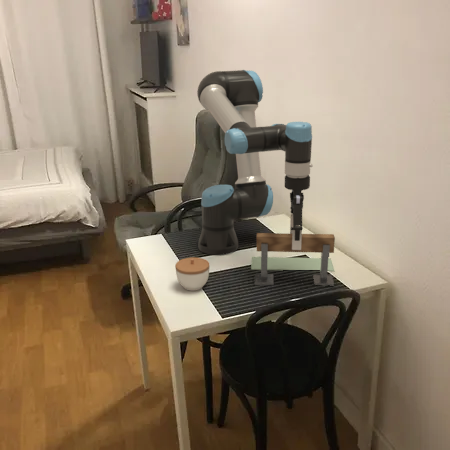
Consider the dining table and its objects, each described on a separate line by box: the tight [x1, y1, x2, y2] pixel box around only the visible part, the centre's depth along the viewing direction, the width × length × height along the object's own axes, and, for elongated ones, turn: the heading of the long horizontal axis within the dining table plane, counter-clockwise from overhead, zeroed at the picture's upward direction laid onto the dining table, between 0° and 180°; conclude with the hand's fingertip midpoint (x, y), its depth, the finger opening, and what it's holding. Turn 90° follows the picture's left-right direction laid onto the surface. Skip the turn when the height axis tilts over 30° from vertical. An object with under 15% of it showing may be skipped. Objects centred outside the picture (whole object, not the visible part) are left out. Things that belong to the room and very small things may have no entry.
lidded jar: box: [174, 256, 210, 292], centre depth 156 cm, size 11×11×9 cm
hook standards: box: [254, 243, 335, 287], centre depth 158 cm, size 25×6×14 cm, turn 85°
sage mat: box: [250, 256, 335, 272], centre depth 172 cm, size 28×10×1 cm, turn 85°
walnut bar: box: [256, 232, 336, 254], centre depth 155 cm, size 24×3×5 cm, turn 85°
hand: (295, 241), depth 155 cm, fingers open, 13 cm apart
